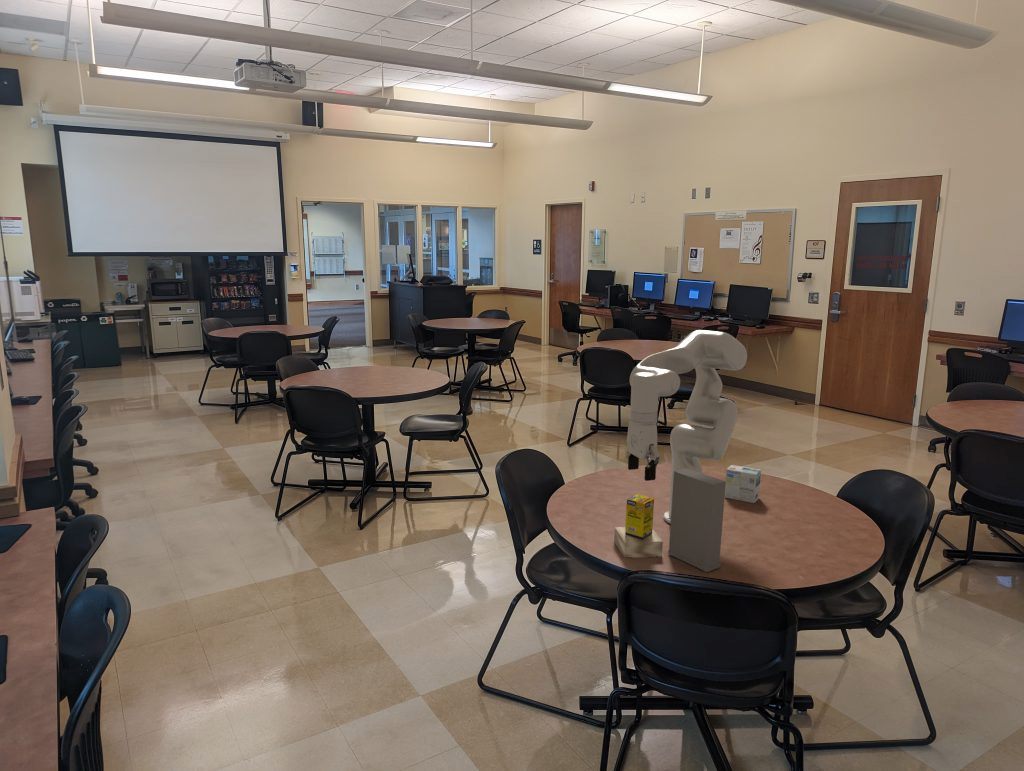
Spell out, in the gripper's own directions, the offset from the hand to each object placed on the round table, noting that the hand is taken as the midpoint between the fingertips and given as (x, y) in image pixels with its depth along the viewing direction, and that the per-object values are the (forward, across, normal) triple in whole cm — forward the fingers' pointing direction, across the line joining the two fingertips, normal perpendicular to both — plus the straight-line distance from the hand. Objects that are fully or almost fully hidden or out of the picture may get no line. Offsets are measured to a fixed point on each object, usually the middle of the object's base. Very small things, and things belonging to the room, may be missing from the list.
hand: (641, 474), depth 197 cm
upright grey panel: (+23, +12, +11) cm, 28 cm away
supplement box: (+18, +1, 0) cm, 18 cm away
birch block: (+23, +1, -1) cm, 23 cm away
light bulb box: (+24, -26, +55) cm, 66 cm away
